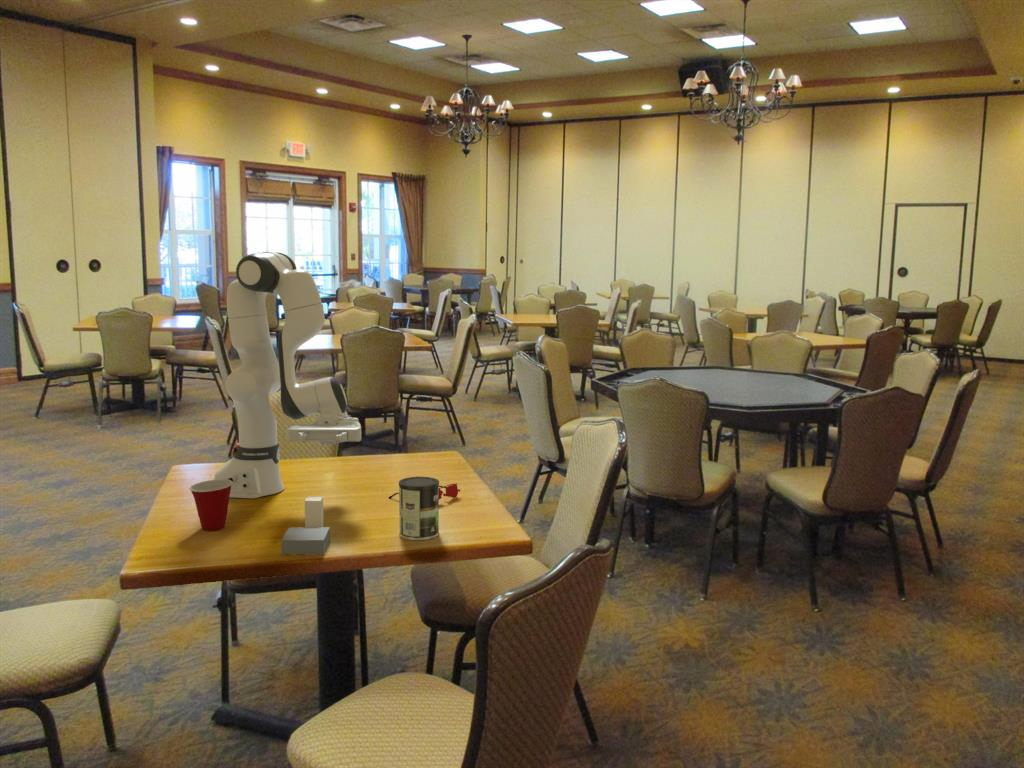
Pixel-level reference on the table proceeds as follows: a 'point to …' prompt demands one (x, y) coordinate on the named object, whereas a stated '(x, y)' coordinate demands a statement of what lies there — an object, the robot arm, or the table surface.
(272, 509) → the table surface
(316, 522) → the cream block
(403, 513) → the coffee can
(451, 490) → the glasses
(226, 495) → the plastic cup
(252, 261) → the robot arm
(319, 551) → the gray square block
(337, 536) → the table surface
